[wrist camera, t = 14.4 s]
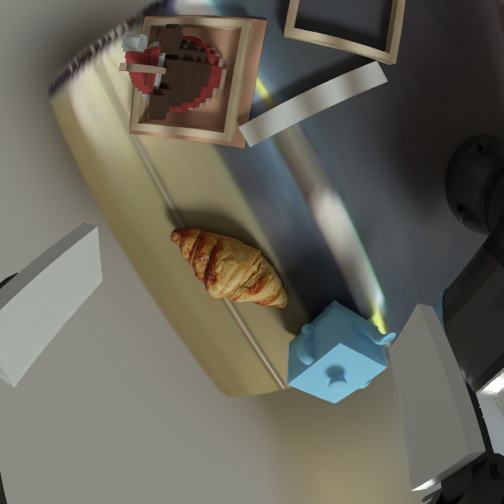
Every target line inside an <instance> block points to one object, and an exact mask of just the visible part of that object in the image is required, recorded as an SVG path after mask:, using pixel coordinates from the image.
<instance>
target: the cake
mask: <svg viewBox="0 0 504 504" xmlns="http://www.w3.org/2000/svg"><path fill="white" fill-rule="evenodd" d="M182 28H183V26H181V25H179V24H166V28H162V33H161V37H160V42H154V43H153V44H150V47H148V49H146V46H147V41H148V40H147V39H146V38H147V36H145V35H142V34H139V35H126V38H124V39H123V44H122V48H124V49H123V51H124V52H126V54H125V58H127V59H126V63H120V67H119V71H128V72H129V75H131V76H130V79H132V81H131V82H133V85H136V86H135V88H138V91H141V93H140V94H142V96H143V97H144V100H149V105H148V113H149V114H150V118H149V119H155V120H164V119H166V113H169V111H175V112H184V111H188V109H190V110H195V108H197V107H199V106H205V104H206V102H211V99H212V98H217V95H218V90H219V89H224V86H225V81H226V76H227V71H228V70H227V69H223V65H224V61H225V60H224V59H220V55H221V54H218V53H216V50H217V49H216V48H211V46H210V45H209V44H208V43H205V42H201V41H202V40H201V39H199V38H197V37H195V36H183V34H184V33H182Z"/></svg>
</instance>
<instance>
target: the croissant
mask: <svg viewBox="0 0 504 504" xmlns="http://www.w3.org/2000/svg"><path fill="white" fill-rule="evenodd" d="M170 238H171V241H173V242H175V243H176V244H177V245H179V246H180V252H181V254H182V255H183V256H184V259H186V260H187V262H189V264H190V266H192V267H193V269H194V272H195V274H196V275H195V276H196V278H197V279H198V280H200V281H201V282H202V283H203V284H204V285H205V287H206V290H207V292H208V293H209V294H210V295H211V296H212V297H214V298H217V297H218V298H222V297H227V298H228V299H231V300H232V301H238V302H244V301H252V302H254V303H257V304H259V305H262V306H270V305H273V306H275V307H279V308H283V307H286V305H287V302H288V299H287V295H286V292H285V290H284V289H283V286H282V283H281V281H280V279H279V277H278V275H277V273H276V272H275V271H274V269H273V267H272V266H271V265H270V264H269V263H268V262H267V261H266V259H265V258H264V257H263V256H262V255H260V254H261V251H260V250H259V249H255V248H253V247H251V246H248V245H245V244H243V243H242V242H241V241H239V240H237V239H234V238H231V237H228V236H223V235H218V234H216V233H210V232H206V231H201V230H199V229H196V228H185V229H175V230H174V231H172V233H171V236H170Z"/></svg>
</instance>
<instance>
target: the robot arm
mask: <svg viewBox="0 0 504 504" xmlns="http://www.w3.org/2000/svg"><path fill="white" fill-rule="evenodd" d="M446 196H447V201H448V204H449V207H450V209H451V211H452V213H453V214H454V216H455V217H456V218H457V219H458V220H459V221H460V222H461V223H462V224H463V225H464V226H465V227H467V228H468V229H470V230H472V231H474V232H477V233H481V234H484V235H488V238H487V239H486V241H485V242H484V243H483V244H482V246H481V247H480V248H479V250H478V251H477V253H476V254H475V255H474V257H473V258H472V259H471V260H470V262H469V263H468V264H467V266H466V267H465V268H464V269H463V271H462V272H461V273H460V274H459V276H458V277H457V278H456V279H455V280H454V281H453V283H452V284H451V285H450V286H449V287H448V288H446V289H445V290H444V291H443V292H442V294H441V297H440V298H439V300H438V301H437V302H436V303H435V304H434V306H433V307H432V306H427V305H422V304H418V305H417V306H416V308H415V310H414V312H413V313H412V315H411V317H410V318H409V320H408V322H407V323H406V325H405V327H404V328H403V330H402V332H401V333H400V335H399V337H398V338H397V340H396V341H395V343H394V344H393V346H392V348H391V349H390V351H389V354H390V358H391V363H392V367H393V371H394V377H395V381H396V386H397V391H398V397H399V401H400V407H401V413H402V419H403V425H404V432H405V438H406V446H407V453H408V461H409V471H410V480H411V491H413V490H421V489H429V488H431V487H432V486H434V485H436V484H437V483H439V482H441V487H442V488H440V489H438V490H437V491H435V492H433V493H431V494H429V495H427V496H426V497H425V498H424V499H423V500H422V501H423V502H425V501H427V500H429V499H431V498H432V500H431V501H430V502H428V503H427V504H504V456H503V455H501V454H499V453H494V451H493V448H492V445H491V441H490V437H489V434H488V430H487V427H486V424H485V421H484V418H482V416H483V414H482V411H481V408H479V406H480V405H479V402H478V399H477V397H476V395H477V396H487V397H492V398H493V399H494V401H495V402H496V404H497V406H498V408H499V409H500V411H501V413H502V415H503V417H504V142H503V141H502V140H500V139H497V138H494V137H491V136H487V135H480V136H475V137H473V138H470V139H469V140H467V141H466V142H464V143H463V144H462V145H461V146H460V147H459V149H458V150H457V151H456V153H455V154H454V156H453V158H452V160H451V162H450V165H449V168H448V172H447V177H446ZM101 282H102V274H101V263H100V253H99V240H98V226H94V225H90V224H86V223H83V224H81V225H80V226H78V227H77V228H76V229H74V230H73V231H72V232H70V233H69V234H67V235H66V236H65V237H63V238H62V239H61V240H59V241H58V242H57V243H56V244H54V245H53V246H52V247H50V248H49V249H48V250H46V251H45V252H44V253H43V254H41V255H40V256H39V257H38V258H36V259H35V260H34V261H33V262H31V263H30V264H29V265H28V266H26V267H25V268H24V269H23V270H22V271H21V272H19V273H16V274H14V275H12V276H10V277H8V278H6V279H5V280H3V281H2V282H1V283H0V378H2V379H3V380H4V381H6V382H7V383H8V384H10V385H11V386H13V387H15V386H16V384H17V383H18V382H19V381H20V379H21V378H22V376H23V375H24V374H25V372H26V371H27V370H28V369H29V367H30V366H31V365H32V363H33V362H34V361H35V359H36V358H37V357H38V355H39V354H40V353H41V352H42V351H43V349H44V348H45V347H46V346H47V344H48V343H49V342H50V341H51V339H52V338H53V337H54V336H55V335H56V333H57V332H58V331H59V330H60V328H61V327H62V326H63V325H64V324H65V323H66V321H67V320H68V319H69V318H70V317H71V316H72V315H73V313H74V312H75V311H76V310H77V309H78V308H79V307H80V305H81V304H82V303H83V302H84V301H85V300H86V299H87V298H88V297H89V295H90V294H91V293H92V292H93V291H94V290H95V289H96V288H97V287H98V286H99V284H100V283H101ZM470 386H471V387H472V388H473V389H472V388H471V387H470ZM473 390H474V391H473ZM475 393H476V394H475ZM0 504H7V501H6V497H5V493H4V489H3V484H2V479H1V473H0Z"/></svg>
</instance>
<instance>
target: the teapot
mask: <svg viewBox="0 0 504 504" xmlns="http://www.w3.org/2000/svg"><path fill="white" fill-rule="evenodd" d="M301 330H302V331H301V333H300V334H298V335H297V336H296V337H295V338H294V339H293V340H292V341H291V342H290V343H289V358H288V375H287V384H288V385H291V386H293V387H295V388H298V389H300V390H302V391H305V392H307V393H309V394H312V395H314V396H317V397H319V398H322V399H324V400H327V401H330V402H332V403H334V404H335V403H336V402H338V401H340V400H341V399H343V398H344V397H346V396H348V395H349V394H351V393H352V392H354V391H355V390H357V389H358V388H364V387H366V386H367V385H368V384H369V383H370V381H371V379H372V378H374V377H375V376H376V375H378V374H379V373H380V372H381V371H383V370H384V369H385V368H386V367H387V362H386V358H385V354H384V350H383V346H382V345H383V344H386V343H388V342H389V341H391V340H392V339H393V338H394V337H395V335H396V333H394V332H393V333H389V334H381V333H380V332H379V330H378V327H377V326H376V325H374V324H372V323H371V322H369V321H368V320H366V319H364V318H363V317H361V316H359V315H358V314H356V313H355V312H353V311H351V310H350V309H348V308H346V307H345V306H343V305H342V304H340V303H338V302H337V301H335V300H334V301H333V302H332V303H331V304H330V305H329V306H326V307H325V309H324V311H323V312H322V313H321V314H319V315H318V316H317V317H316V318H315V319H314V320H313V321H312V322H311V323H310V324H306V325H304V326H303V327H302V329H301Z"/></svg>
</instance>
